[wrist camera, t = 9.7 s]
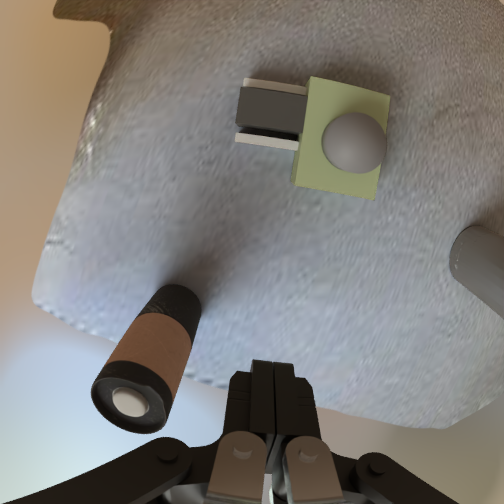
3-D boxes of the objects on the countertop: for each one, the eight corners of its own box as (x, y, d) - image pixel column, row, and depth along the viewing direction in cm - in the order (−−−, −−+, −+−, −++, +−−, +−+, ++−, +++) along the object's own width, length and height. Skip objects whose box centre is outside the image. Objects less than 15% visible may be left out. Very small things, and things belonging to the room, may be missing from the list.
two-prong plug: (375, 101, 34) (403, 91, 26) (360, 194, 38) (385, 205, 29) (246, 76, 34) (242, 56, 26) (232, 172, 37) (224, 178, 29)
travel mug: (149, 324, 44) (94, 421, 25) (152, 277, 42) (84, 365, 23) (200, 335, 44) (167, 443, 25) (206, 288, 42) (169, 389, 23)
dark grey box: (302, 103, 35) (307, 96, 30) (297, 135, 36) (302, 132, 31) (243, 95, 34) (240, 86, 30) (238, 126, 36) (235, 122, 31)
